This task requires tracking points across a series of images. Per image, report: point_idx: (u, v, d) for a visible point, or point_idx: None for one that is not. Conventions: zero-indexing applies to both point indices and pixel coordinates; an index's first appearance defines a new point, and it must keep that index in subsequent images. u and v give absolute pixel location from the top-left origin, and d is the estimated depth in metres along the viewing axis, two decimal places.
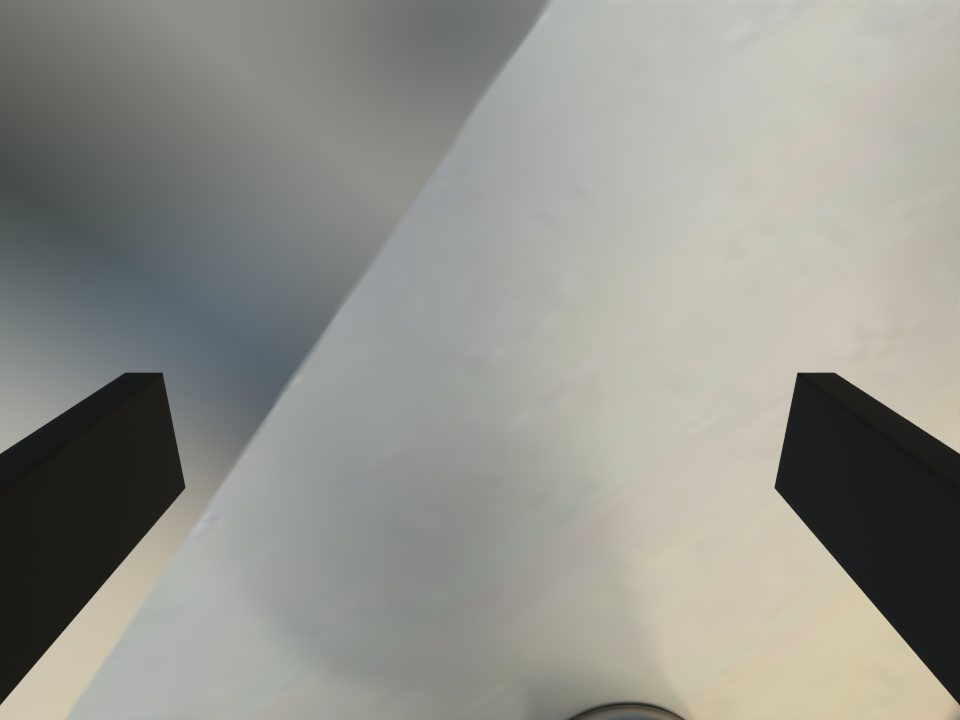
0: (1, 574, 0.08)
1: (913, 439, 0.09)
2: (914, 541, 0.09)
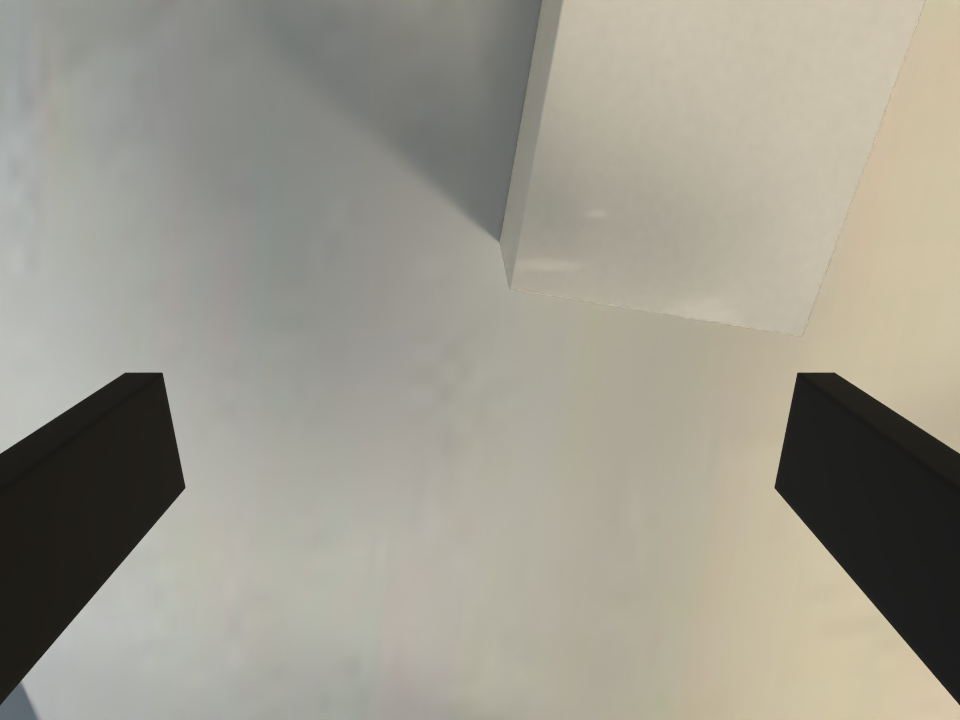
0: (2, 574, 0.08)
1: (913, 439, 0.09)
2: (914, 541, 0.09)
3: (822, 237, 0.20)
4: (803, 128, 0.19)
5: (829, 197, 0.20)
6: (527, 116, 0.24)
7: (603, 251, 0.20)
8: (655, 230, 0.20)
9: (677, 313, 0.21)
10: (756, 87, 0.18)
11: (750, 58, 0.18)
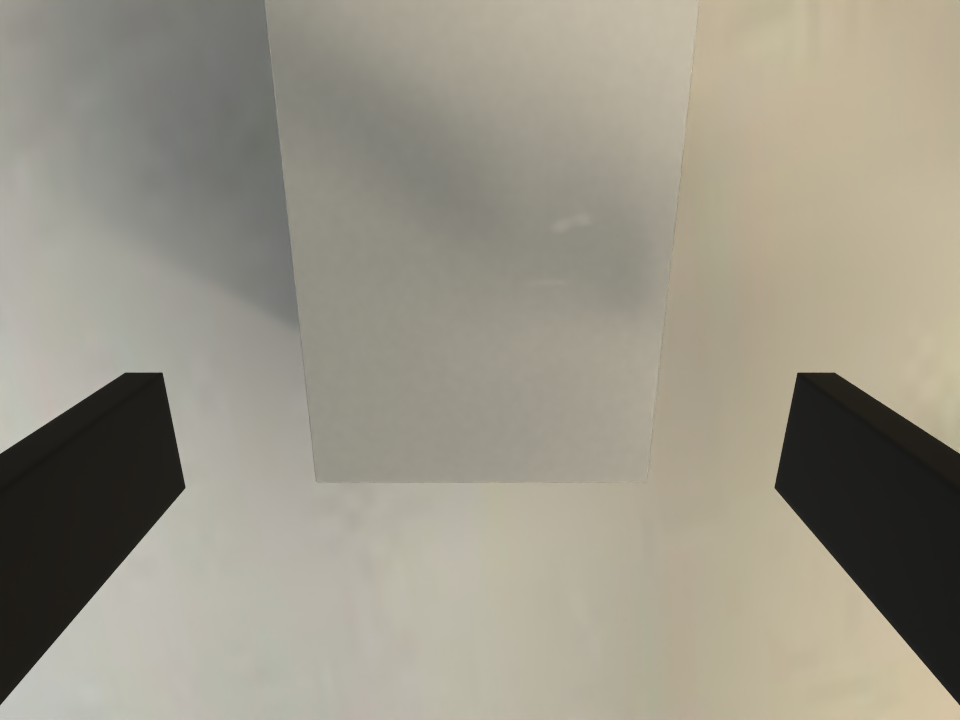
0: (1, 574, 0.08)
1: (913, 439, 0.09)
2: (914, 541, 0.09)
3: (639, 383, 0.18)
4: (585, 279, 0.17)
5: (635, 342, 0.17)
6: None
7: (404, 432, 0.18)
8: (453, 403, 0.18)
9: (501, 479, 0.19)
10: (520, 247, 0.16)
11: (505, 220, 0.16)
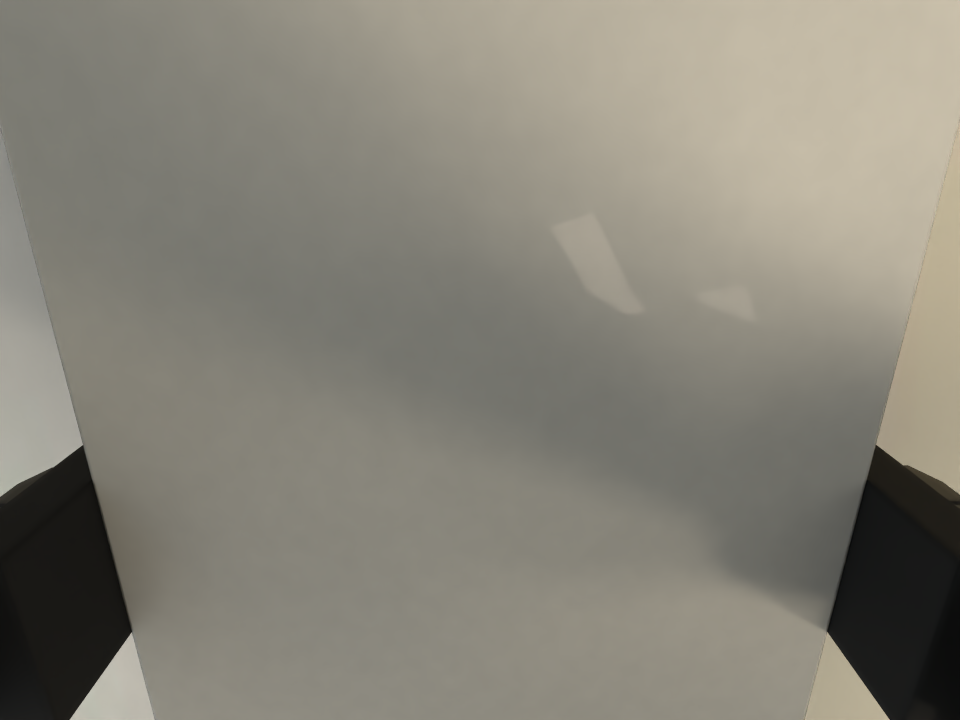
0: None
1: None
2: None
3: (796, 611, 0.09)
4: (703, 421, 0.08)
5: (797, 540, 0.08)
6: None
7: (329, 693, 0.09)
8: (424, 646, 0.09)
9: None
10: (566, 357, 0.07)
11: (533, 299, 0.07)
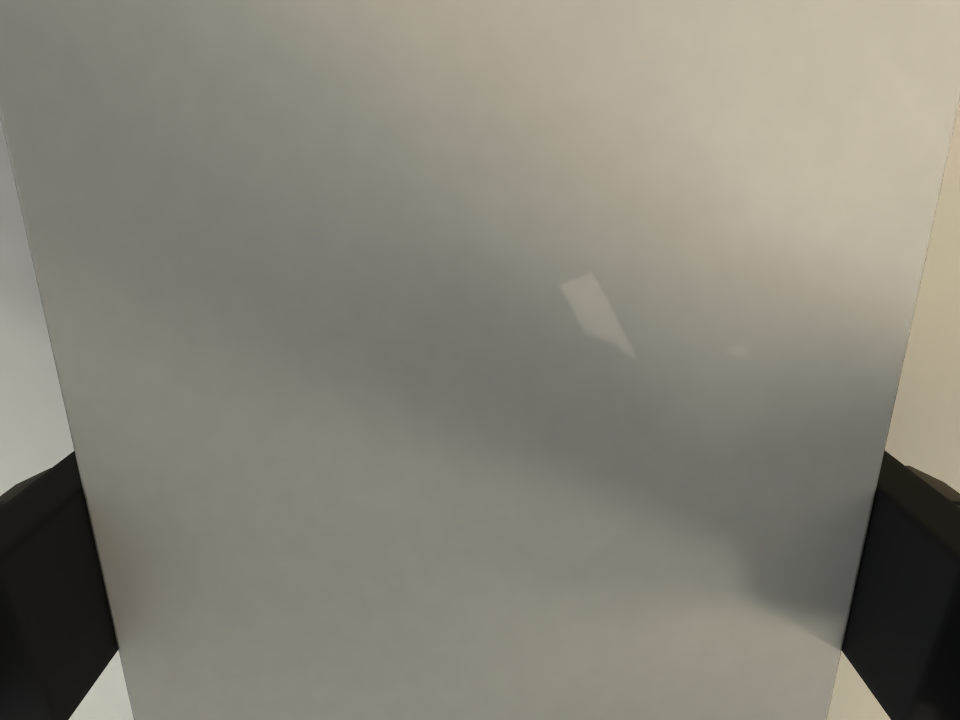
0: None
1: None
2: None
3: (810, 620, 0.09)
4: (707, 417, 0.08)
5: (809, 544, 0.08)
6: None
7: (322, 711, 0.09)
8: (422, 660, 0.09)
9: None
10: (566, 350, 0.07)
11: (533, 290, 0.07)
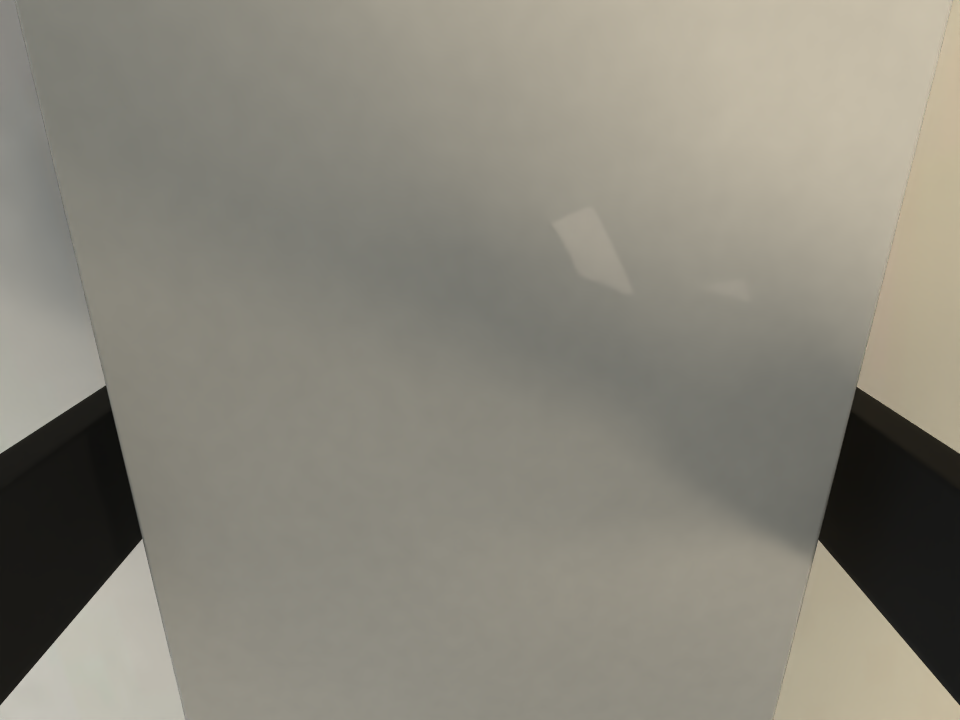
0: (1, 574, 0.08)
1: (913, 439, 0.09)
2: (914, 541, 0.09)
3: (775, 576, 0.10)
4: (688, 397, 0.08)
5: (776, 509, 0.09)
6: None
7: (339, 653, 0.10)
8: (428, 608, 0.10)
9: None
10: (561, 336, 0.08)
11: (532, 282, 0.08)
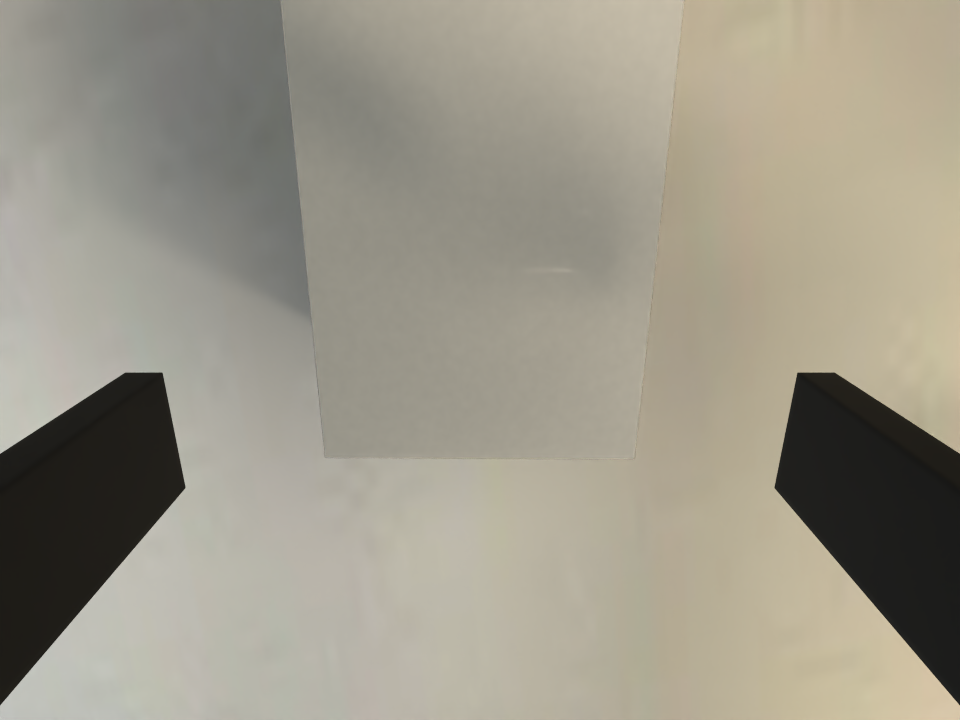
0: (1, 574, 0.08)
1: (913, 439, 0.09)
2: (914, 541, 0.09)
3: (627, 365, 0.19)
4: (577, 268, 0.18)
5: (624, 327, 0.19)
6: None
7: (407, 410, 0.20)
8: (454, 384, 0.19)
9: (498, 456, 0.20)
10: (517, 237, 0.18)
11: (503, 212, 0.17)
